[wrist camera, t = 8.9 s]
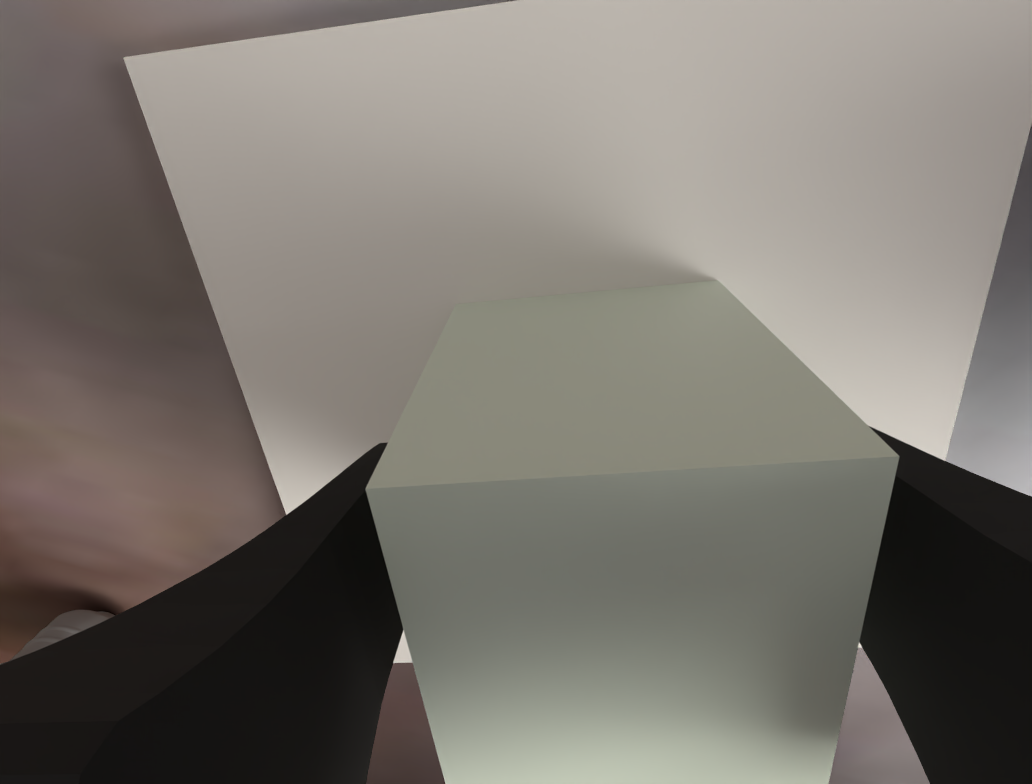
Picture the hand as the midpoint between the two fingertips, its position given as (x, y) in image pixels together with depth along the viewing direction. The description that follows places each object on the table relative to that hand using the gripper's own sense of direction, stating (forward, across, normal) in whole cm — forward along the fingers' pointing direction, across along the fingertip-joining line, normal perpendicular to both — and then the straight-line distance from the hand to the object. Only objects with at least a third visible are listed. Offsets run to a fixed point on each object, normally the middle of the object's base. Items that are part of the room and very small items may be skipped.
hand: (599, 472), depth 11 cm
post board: (+4, 0, 0) cm, 4 cm away
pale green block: (+2, 0, 0) cm, 2 cm away
